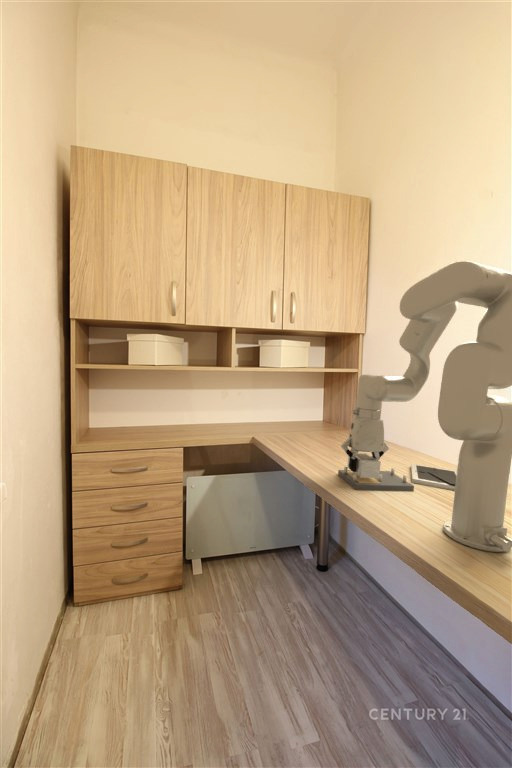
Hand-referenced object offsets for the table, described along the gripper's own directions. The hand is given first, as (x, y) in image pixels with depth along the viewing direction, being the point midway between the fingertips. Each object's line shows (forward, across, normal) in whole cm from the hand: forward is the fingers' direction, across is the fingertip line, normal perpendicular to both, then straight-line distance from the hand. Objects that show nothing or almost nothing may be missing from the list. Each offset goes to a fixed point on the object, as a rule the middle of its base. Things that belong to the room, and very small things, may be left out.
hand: (362, 470), depth 110 cm
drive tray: (+4, +4, 0) cm, 6 cm away
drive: (+1, 0, 0) cm, 1 cm away
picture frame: (+5, +30, +5) cm, 30 cm away
